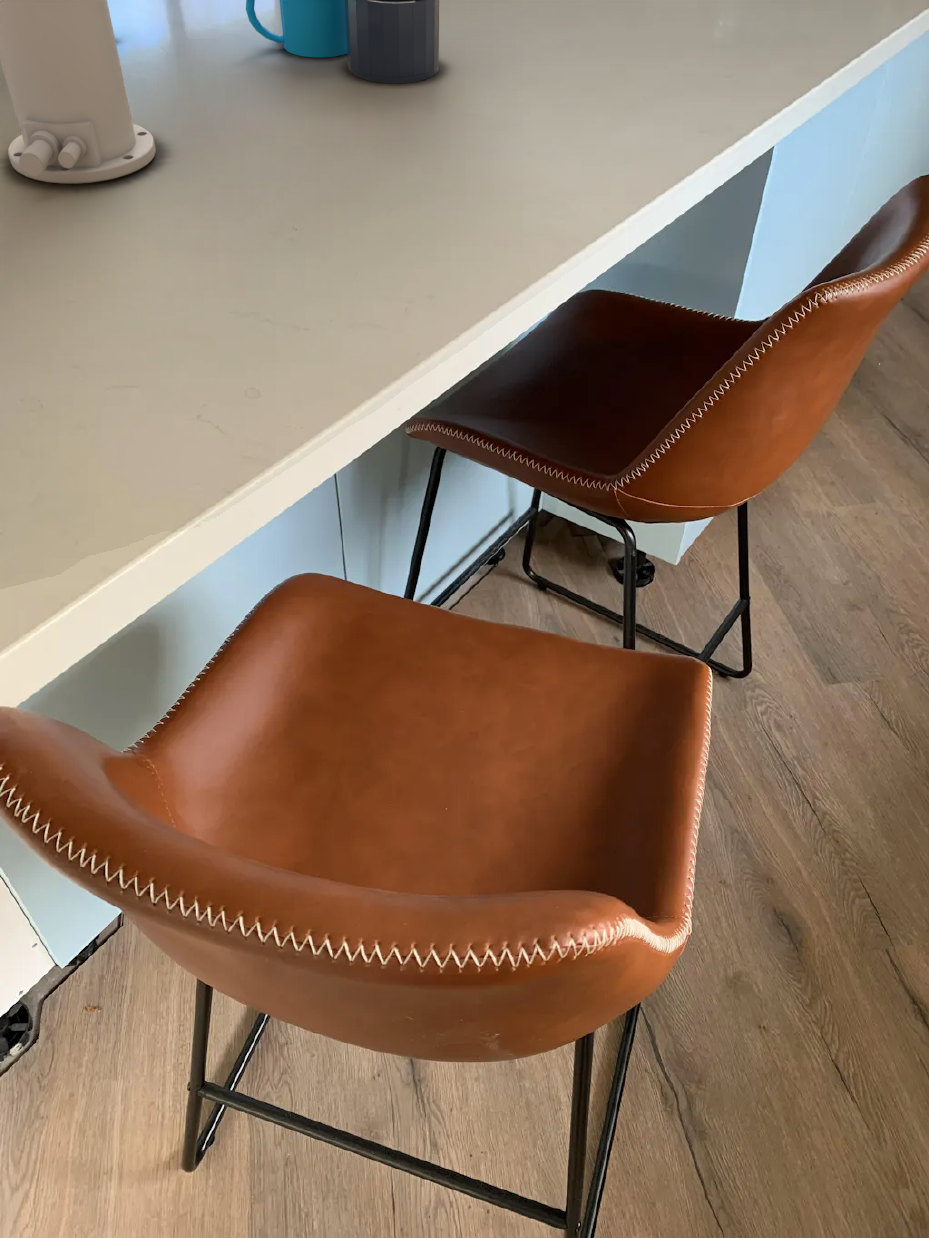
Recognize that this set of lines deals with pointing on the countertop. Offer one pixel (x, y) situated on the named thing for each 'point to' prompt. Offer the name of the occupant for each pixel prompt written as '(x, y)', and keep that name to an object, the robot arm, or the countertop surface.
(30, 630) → the countertop surface
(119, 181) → the countertop surface
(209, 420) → the countertop surface
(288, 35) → the mug
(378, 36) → the cup
